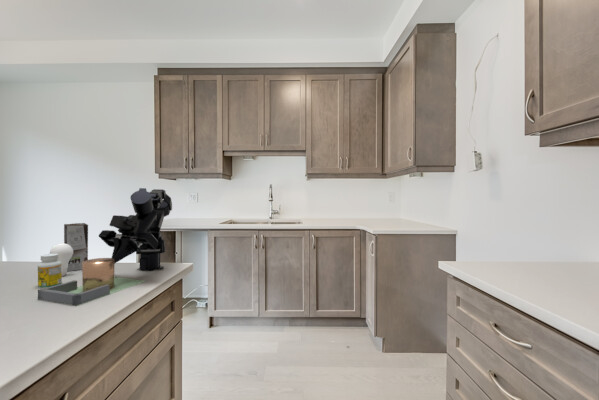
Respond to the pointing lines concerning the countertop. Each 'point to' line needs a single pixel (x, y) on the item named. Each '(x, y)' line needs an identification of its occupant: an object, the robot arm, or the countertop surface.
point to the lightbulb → (63, 255)
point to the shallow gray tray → (63, 296)
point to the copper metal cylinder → (97, 273)
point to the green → (118, 285)
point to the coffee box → (76, 244)
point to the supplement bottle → (49, 271)
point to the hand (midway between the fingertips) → (112, 262)
